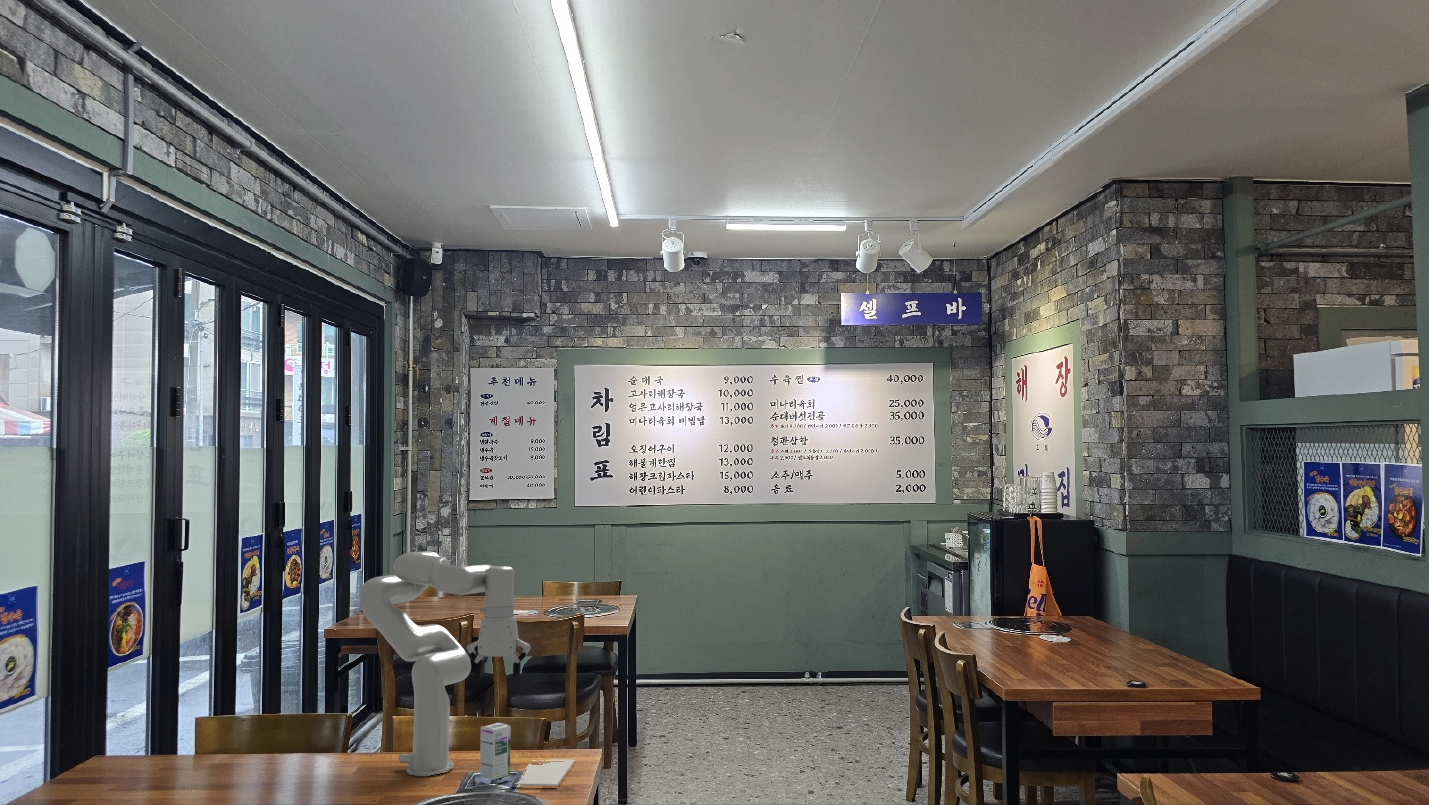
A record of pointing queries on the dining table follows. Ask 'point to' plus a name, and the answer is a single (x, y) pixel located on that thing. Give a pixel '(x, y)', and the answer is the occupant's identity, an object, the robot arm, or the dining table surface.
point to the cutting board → (546, 773)
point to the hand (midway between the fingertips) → (498, 677)
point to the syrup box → (495, 751)
